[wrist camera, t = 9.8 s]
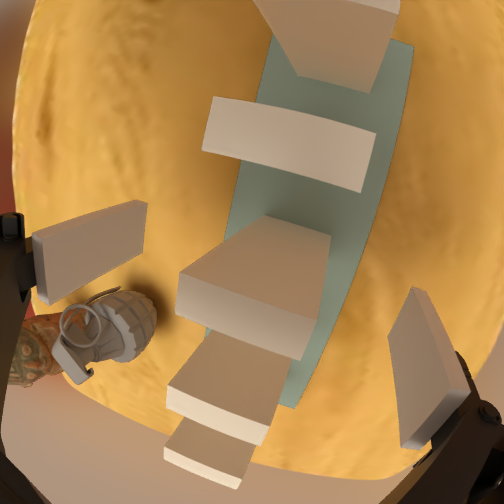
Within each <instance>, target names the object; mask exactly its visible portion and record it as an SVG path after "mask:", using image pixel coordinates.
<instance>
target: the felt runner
mask: <svg viewBox="0 0 504 504" xmlns="http://www.w3.org/2000/svg"><path fill="white" fill-rule="evenodd" d="M413 52H414V46H411V45H408V44H405V43H403V42H400V41H397V40H394V39H391V38H390V41H389V44H388V46H387V49H386V52H385V55H384V57H383V60H382V63H381V65H380V68H379V70H378V73H377V76H376V78H375V81H374V83H373V86H372V88H371V91H370V94H367V93H364V92H361V91H357V90H354V89H350V88H347V87H343V86H339V85H335V84H331V83H327V82H323V81H319V80H314V79H310V78H305V77H300V76H298V75H297V74H296V72H295V70H294V68H293V66H292V64H291V63H290V61H289V59H288V57H287V56H286V54H285V52H284V50H283V49H282V47H281V45H280V43H279V42H278V40H277V38H276V37H275V35H274V33H273V35H272V39H271V43H270V46H269V50H268V54H267V58H266V62H265V65H264V69H263V73H262V77H261V81H260V85H259V89H258V93H257V97H256V101H255V103H259V104H265V105H270V106H275V107H280V108H284V109H289V110H293V111H298V112H302V113H306V114H310V115H314V116H318V117H322V118H326V119H330V120H333V121H337V122H340V123H344V124H347V125H351V126H354V127H357V128H360V129H364V130H367V131H370V132H373V133H376V137H375V141H374V145H373V149H372V153H371V157H370V161H369V164H368V168H367V172H366V175H365V179H364V182H363V186H362V189H361V193H358V192H355V191H352V190H349V189H346V188H343V187H340V186H336V185H333V184H330V183H327V182H323V181H320V180H317V179H313V178H310V177H306V176H303V175H299V174H296V173H292V172H288V171H285V170H281V169H277V168H273V167H270V166H266V165H262V164H258V163H254V162H250V161H246V160H241V164H240V168H239V173H238V177H237V182H236V186H235V191H234V195H233V200H232V204H231V209H230V214H229V218H228V223H227V228H226V232H225V237H224V241H226V240H227V239H228V238H230V237H231V236H233V235H234V234H236V233H237V232H239V231H240V230H242V229H243V228H245V227H246V226H248V225H249V224H251V223H252V222H253V221H255V220H256V219H258V218H259V217H261V216H262V215H267V216H270V217H273V218H277V219H280V220H283V221H287V222H290V223H293V224H296V225H299V226H303V227H306V228H309V229H312V230H315V231H319V232H322V233H325V234H328V235H331V242H330V249H329V255H328V262H327V268H326V274H325V280H324V286H323V291H322V297H321V302H320V307H319V313H318V318H317V322H316V324H315V327H314V329H313V332H312V334H311V337H310V339H309V342H308V344H307V346H306V349H305V351H304V353H303V356H302V358H301V361H298V360H295V359H292V361H291V364H290V367H289V371H288V374H287V377H286V380H285V383H284V386H283V390H282V393H281V396H280V399H279V402H278V404H280V405H283V406H286V407H290V408H293V409H295V407H296V405H297V403H298V402H299V400H300V398H301V396H302V394H303V392H304V390H305V388H306V386H307V384H308V382H309V380H310V378H311V375H312V373H313V371H314V369H315V367H316V365H317V363H318V361H319V359H320V356H321V354H322V352H323V350H324V348H325V345H326V343H327V341H328V339H329V336H330V334H331V332H332V330H333V327H334V325H335V323H336V320H337V318H338V315H339V313H340V311H341V308H342V306H343V303H344V301H345V298H346V296H347V293H348V291H349V288H350V286H351V283H352V280H353V278H354V275H355V272H356V270H357V267H358V264H359V262H360V259H361V256H362V253H363V250H364V248H365V245H366V242H367V239H368V236H369V233H370V230H371V227H372V224H373V221H374V218H375V214H376V211H377V208H378V205H379V202H380V198H381V195H382V192H383V188H384V185H385V181H386V178H387V174H388V170H389V167H390V163H391V159H392V155H393V152H394V148H395V144H396V139H397V135H398V131H399V127H400V122H401V118H402V113H403V108H404V104H405V99H406V94H407V88H408V83H409V77H410V71H411V65H412V59H413ZM211 330H212V329H210V328H208V327H207V328H206V333H205V338H206V337H207V335H208V334H209V333H210V332H211ZM205 338H204V339H205Z"/></svg>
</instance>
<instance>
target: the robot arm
mask: <svg viewBox="0 0 504 504" xmlns="http://www.w3.org/2000/svg"><path fill="white" fill-rule="evenodd" d="M147 205H148V203H146V202H142V201H139V200H133V201H129V202H126V203H122V204H119V205H115V206H112V207H109V208H105V209H102V210H99V211H96V212H92V213H89V214H86V215H83V216H80V217H77V218H74V219H71V220H68V221H65V222H62V223H59V224H56V225H53V226H50V227H47V228H44V229H41V230H39V231H36V232H33V233H32V236H31V237H28V238H25V226H24V215H23V214H21V213H16V212H10V213H4V214H1V215H0V432H1V421H2V414H3V407H4V401H5V395H6V389H7V384H8V379H9V374H10V370H11V365H12V361H13V357H14V353H15V349H16V345H17V341H18V338H19V334H20V331H21V327H22V324H23V321H24V317H25V314H26V311H27V308H28V305H29V302H30V299H31V288H32V287H34V286H37V293H38V298H39V299H40V300H41V301H43V302H44V303H46V304H47V305H48V306H50V305H52V304H54V303H55V302H57V301H59V300H60V299H62V298H64V297H65V296H67V295H69V294H70V293H72V292H74V291H76V290H77V289H79V288H81V287H82V286H84V285H86V284H88V283H89V282H91V281H93V280H95V279H96V278H98V277H100V276H102V275H103V274H105V273H107V272H109V271H111V270H112V269H114V268H116V267H118V266H119V265H121V264H123V263H125V262H127V261H129V260H130V259H132V258H134V257H136V256H138V255H140V254H141V253H143V243H144V232H145V222H146V213H147ZM388 341H389V347H390V353H391V360H392V367H393V374H394V381H395V389H396V398H397V408H398V418H399V431H400V446H401V448H407V449H415V450H420V449H421V448H422V447H423V446H424V445H425V444H426V443H427V442H428V441H429V440H430V439H431V445H432V449H431V450H430V451H429V452H428V453H427V454H426V455H424V456H423V457H422V458H421V459H420V460H419V461H418V462H417V463H416V464H415V465H414V466H413V470H412V471H411V472H410V473H409V474H408V475H407V476H406V477H405V478H404V479H403V480H402V482H400V484H399V485H398V486H397V487H396V488H395V489H394V490H393V491H392V492H391V493H390V494H389V495H388V496H386V497H385V499H383V500H382V501H381V502H380V503H379V504H504V425H503V424H501V423H502V419H501V416H500V413H499V412H498V410H497V409H496V408H495V407H494V406H493V405H492V404H491V403H489V402H487V401H485V400H481V399H480V397H479V394H478V391H477V389H476V386H475V384H474V381H473V379H471V377H472V376H471V374H470V372H469V371H468V370H469V369H468V367H467V364H466V362H465V360H464V359H463V358H462V357H461V355H460V354H459V353H458V352H457V351H454V348H453V346H452V344H451V341H450V339H449V337H448V335H447V333H446V330H445V328H444V326H443V324H442V322H441V320H440V318H439V316H438V314H437V312H436V310H435V308H434V306H433V304H432V302H431V300H430V298H429V296H428V294H427V292H426V291H424V290H421V289H418V288H415V287H411V289H410V292H409V294H408V296H407V298H406V300H405V303H404V305H403V307H402V309H401V311H400V313H399V315H398V317H397V319H396V321H395V323H394V325H393V327H392V329H391V331H390V333H389V335H388ZM500 481H501V483H500V484H499V482H500ZM0 504H51V502H50V501H49V500H48V499H47V498H46V497H45V496H44V495H43V494H41V492H40V491H39V490H38V489H37V488H36V487H35V486H34V485H33V484H32V483H31V482H30V481H29V480H28V479H27V477H26V476H25V475H24V474H23V473H22V472H21V471H19V470H18V468H16V467H15V466H14V464H12V463H11V461H10V460H9V459H8V458H7V457H6V454H5V449H4V445H3V442H2V439H1V433H0Z"/></svg>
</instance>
